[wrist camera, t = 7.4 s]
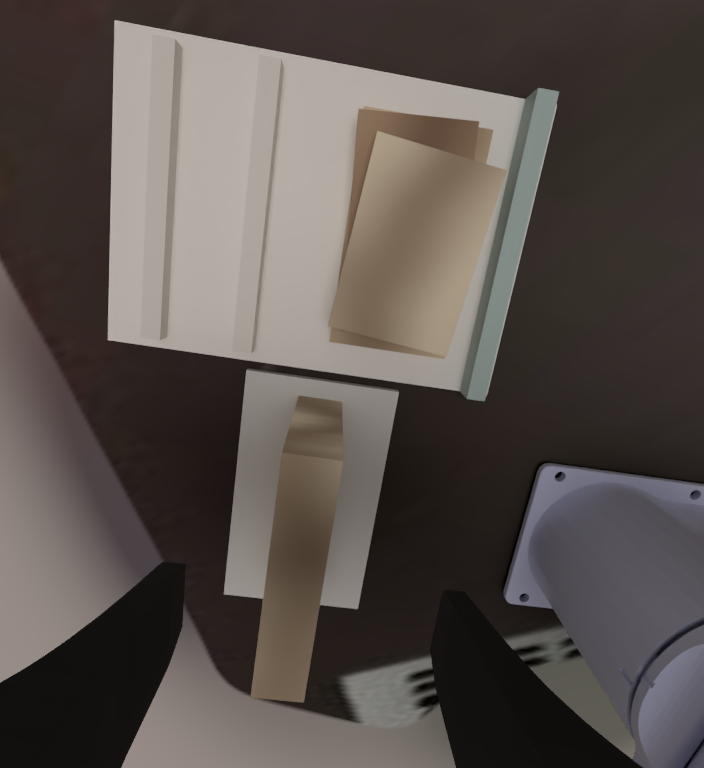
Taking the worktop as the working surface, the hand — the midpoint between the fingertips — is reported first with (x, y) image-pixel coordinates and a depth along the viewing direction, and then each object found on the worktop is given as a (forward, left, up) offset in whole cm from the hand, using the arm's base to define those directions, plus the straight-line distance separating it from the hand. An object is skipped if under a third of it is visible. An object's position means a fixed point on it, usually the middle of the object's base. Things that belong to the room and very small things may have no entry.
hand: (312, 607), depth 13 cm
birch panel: (+1, +2, -10) cm, 10 cm away
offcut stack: (-2, -10, -9) cm, 14 cm away
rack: (+2, -11, -10) cm, 14 cm away
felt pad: (+1, +2, -10) cm, 10 cm away
